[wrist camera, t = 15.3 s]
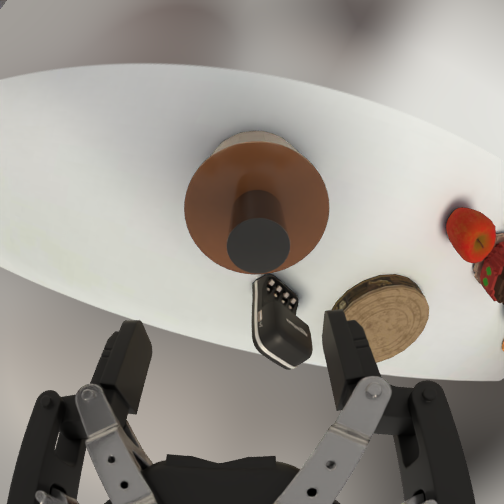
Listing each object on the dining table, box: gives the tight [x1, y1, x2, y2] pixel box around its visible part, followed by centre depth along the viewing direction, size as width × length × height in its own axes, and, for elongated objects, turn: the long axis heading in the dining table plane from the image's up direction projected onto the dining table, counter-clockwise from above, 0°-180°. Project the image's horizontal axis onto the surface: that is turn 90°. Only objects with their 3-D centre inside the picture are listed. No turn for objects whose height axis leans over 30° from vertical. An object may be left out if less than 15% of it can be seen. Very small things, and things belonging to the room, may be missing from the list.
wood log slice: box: [332, 274, 429, 363], centre depth 42 cm, size 16×16×3 cm
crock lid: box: [184, 140, 329, 274], centre depth 23 cm, size 12×12×7 cm
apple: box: [446, 207, 496, 263], centre depth 31 cm, size 6×6×8 cm
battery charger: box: [252, 275, 312, 369], centre depth 35 cm, size 7×4×11 cm, turn 45°
